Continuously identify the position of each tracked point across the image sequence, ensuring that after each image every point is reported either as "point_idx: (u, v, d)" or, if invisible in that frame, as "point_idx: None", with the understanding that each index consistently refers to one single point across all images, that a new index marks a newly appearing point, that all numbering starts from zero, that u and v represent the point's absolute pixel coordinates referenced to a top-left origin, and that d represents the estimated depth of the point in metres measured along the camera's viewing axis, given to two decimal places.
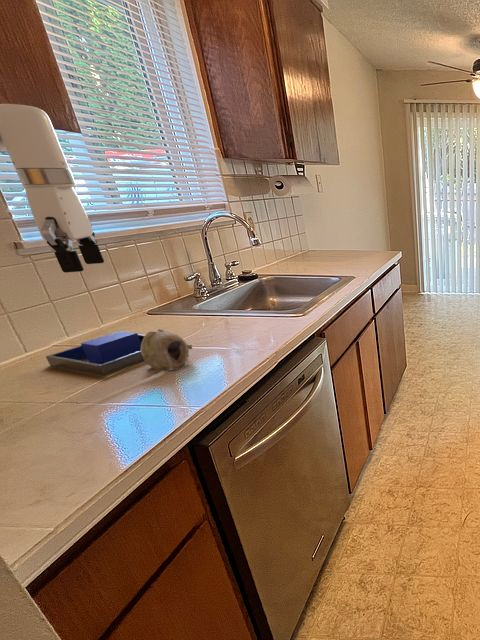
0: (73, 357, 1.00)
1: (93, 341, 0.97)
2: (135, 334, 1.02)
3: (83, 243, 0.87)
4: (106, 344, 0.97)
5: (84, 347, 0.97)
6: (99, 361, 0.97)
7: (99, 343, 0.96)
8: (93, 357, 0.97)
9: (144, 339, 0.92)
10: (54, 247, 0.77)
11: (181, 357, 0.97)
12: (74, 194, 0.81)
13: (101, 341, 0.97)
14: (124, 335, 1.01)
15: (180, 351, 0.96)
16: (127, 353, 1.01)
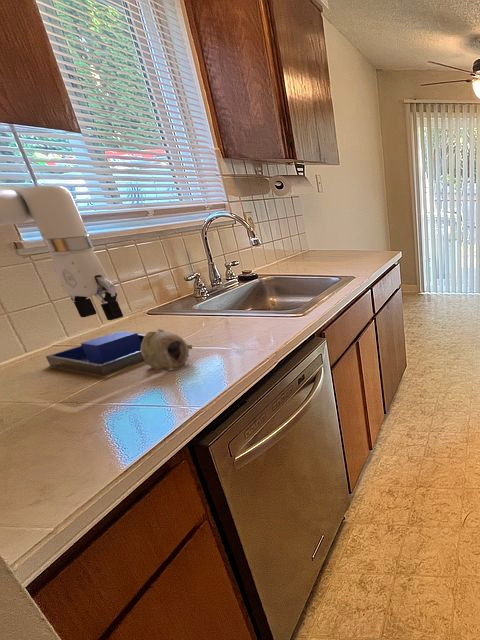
0: (73, 357, 1.00)
1: (93, 341, 0.97)
2: (135, 334, 1.02)
3: (79, 299, 0.96)
4: (106, 344, 0.97)
5: (84, 347, 0.97)
6: (99, 361, 0.97)
7: (99, 343, 0.96)
8: (93, 357, 0.97)
9: (144, 339, 0.92)
10: (110, 299, 0.93)
11: (181, 357, 0.97)
12: None
13: (101, 341, 0.97)
14: (124, 335, 1.01)
15: (180, 351, 0.96)
16: (127, 353, 1.01)
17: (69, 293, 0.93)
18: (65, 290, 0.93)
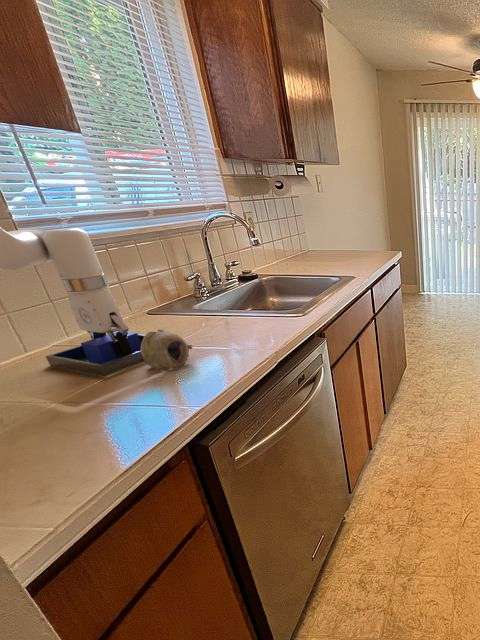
0: (73, 357, 1.00)
1: (93, 341, 0.97)
2: (135, 334, 1.02)
3: (98, 336, 1.00)
4: (106, 344, 0.97)
5: (84, 347, 0.97)
6: (99, 361, 0.97)
7: (99, 343, 0.96)
8: (93, 357, 0.97)
9: (144, 339, 0.92)
10: (121, 337, 0.97)
11: (181, 357, 0.97)
12: None
13: (101, 341, 0.97)
14: None
15: (180, 351, 0.96)
16: None
17: (84, 329, 0.97)
18: (80, 326, 0.97)
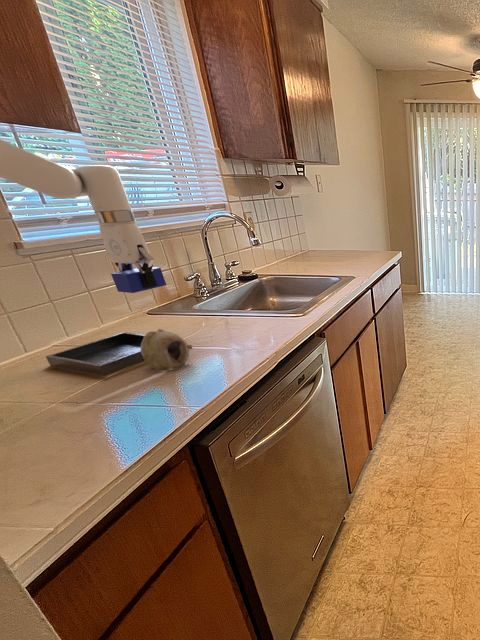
0: (73, 357, 1.00)
1: (122, 272, 1.07)
2: (159, 268, 1.12)
3: (125, 269, 1.10)
4: (134, 274, 1.06)
5: (114, 277, 1.06)
6: (127, 290, 1.07)
7: (128, 273, 1.06)
8: (122, 286, 1.07)
9: (144, 339, 0.92)
10: (147, 269, 1.07)
11: (181, 357, 0.97)
12: None
13: (129, 272, 1.07)
14: None
15: (180, 351, 0.96)
16: None
17: (114, 260, 1.06)
18: (110, 258, 1.06)
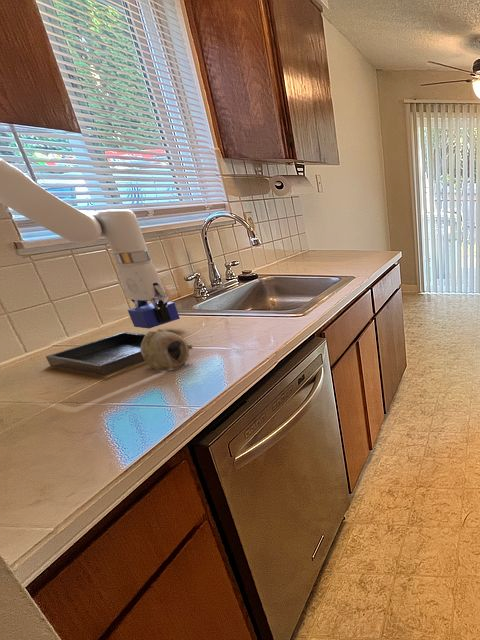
0: (73, 357, 1.00)
1: (138, 308, 1.12)
2: (173, 303, 1.17)
3: (141, 304, 1.15)
4: (150, 311, 1.11)
5: (130, 313, 1.11)
6: (143, 326, 1.12)
7: (144, 310, 1.11)
8: (138, 322, 1.12)
9: (144, 339, 0.92)
10: (162, 305, 1.12)
11: (181, 357, 0.97)
12: None
13: (145, 308, 1.12)
14: None
15: (180, 351, 0.96)
16: None
17: (130, 297, 1.11)
18: (127, 295, 1.11)
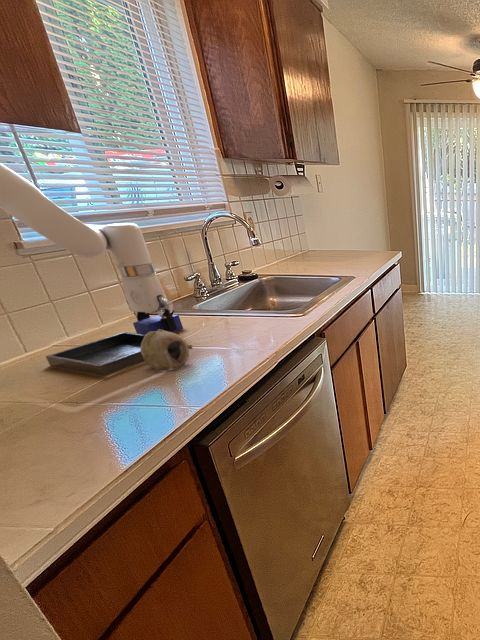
0: (73, 357, 1.00)
1: (143, 321, 1.14)
2: (177, 316, 1.19)
3: (140, 313, 1.16)
4: (154, 323, 1.13)
5: (135, 326, 1.13)
6: None
7: (149, 322, 1.12)
8: None
9: (144, 339, 0.92)
10: (168, 314, 1.12)
11: (181, 357, 0.97)
12: None
13: (150, 321, 1.14)
14: None
15: (180, 351, 0.96)
16: None
17: (134, 309, 1.13)
18: (131, 307, 1.13)
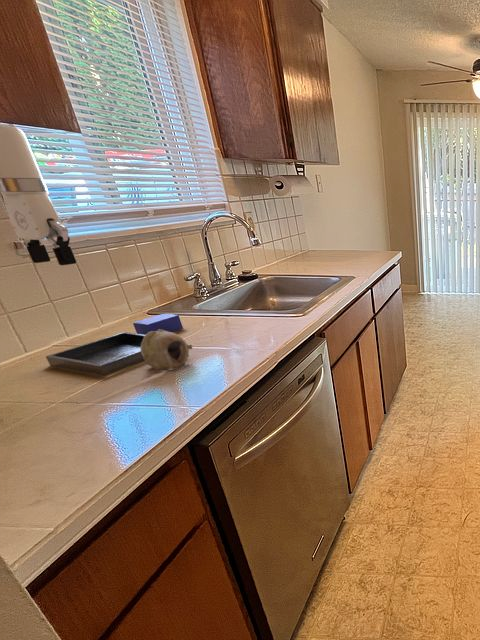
0: (73, 357, 1.00)
1: (143, 321, 1.14)
2: (177, 316, 1.19)
3: (32, 244, 0.97)
4: (154, 323, 1.13)
5: (135, 326, 1.13)
6: None
7: (149, 322, 1.12)
8: None
9: (144, 339, 0.92)
10: (62, 243, 0.93)
11: (181, 357, 0.97)
12: None
13: (150, 321, 1.14)
14: (168, 316, 1.17)
15: (180, 351, 0.96)
16: None
17: (21, 236, 0.93)
18: (17, 233, 0.93)
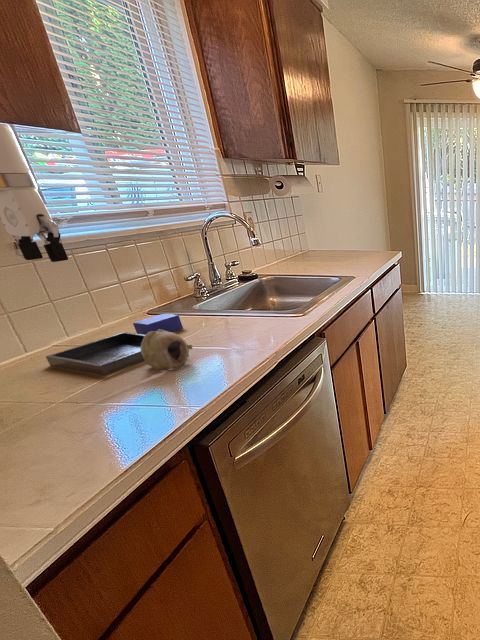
0: (73, 357, 1.00)
1: (143, 321, 1.14)
2: (177, 316, 1.19)
3: (23, 241, 0.96)
4: (154, 323, 1.13)
5: (135, 326, 1.13)
6: None
7: (149, 322, 1.12)
8: None
9: (144, 339, 0.92)
10: (53, 239, 0.92)
11: (181, 357, 0.97)
12: None
13: (150, 321, 1.14)
14: (168, 316, 1.17)
15: (180, 351, 0.96)
16: None
17: (11, 233, 0.92)
18: (7, 230, 0.92)
